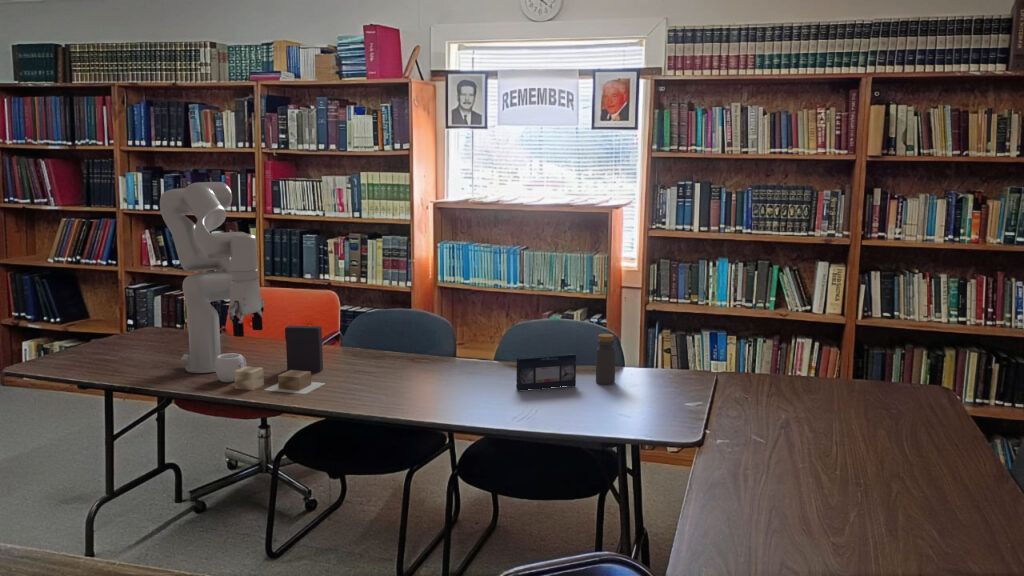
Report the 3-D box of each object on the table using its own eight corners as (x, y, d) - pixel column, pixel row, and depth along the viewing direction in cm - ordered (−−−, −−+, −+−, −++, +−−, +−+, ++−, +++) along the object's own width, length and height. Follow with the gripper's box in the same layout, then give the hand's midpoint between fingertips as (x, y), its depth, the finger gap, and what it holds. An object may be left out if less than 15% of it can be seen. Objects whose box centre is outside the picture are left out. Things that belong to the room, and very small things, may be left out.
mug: (232, 385, 261) (231, 360, 260) (210, 382, 264) (208, 357, 263) (257, 375, 272) (256, 351, 271) (235, 373, 275) (234, 349, 274)
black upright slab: (323, 370, 278) (322, 325, 276) (319, 374, 274) (318, 328, 271) (291, 369, 279) (289, 324, 277) (286, 373, 275) (284, 327, 273)
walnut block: (278, 388, 255) (277, 375, 254) (291, 382, 262) (290, 369, 261) (299, 390, 253) (298, 377, 252) (311, 384, 260) (310, 371, 259)
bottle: (592, 383, 264) (593, 335, 261) (600, 379, 269) (600, 332, 266) (610, 386, 261) (611, 337, 258) (617, 381, 266) (618, 334, 264)
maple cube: (235, 390, 255) (234, 371, 254) (247, 385, 261) (246, 366, 260) (252, 392, 254) (251, 372, 253) (264, 387, 259) (263, 367, 258)
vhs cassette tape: (518, 391, 255) (518, 359, 253) (515, 389, 258) (515, 356, 256) (576, 387, 260) (576, 355, 258) (573, 384, 263) (573, 353, 261)
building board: (263, 391, 254) (263, 389, 254) (285, 381, 265) (285, 379, 265) (305, 395, 250) (305, 393, 250) (325, 385, 261) (325, 383, 261)
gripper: (250, 272, 262) (253, 327, 264) (216, 279, 245) (220, 338, 248) (272, 272, 259) (275, 328, 262) (239, 280, 243) (242, 339, 246)
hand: (248, 333), depth 255 cm, fingers open, 9 cm apart
